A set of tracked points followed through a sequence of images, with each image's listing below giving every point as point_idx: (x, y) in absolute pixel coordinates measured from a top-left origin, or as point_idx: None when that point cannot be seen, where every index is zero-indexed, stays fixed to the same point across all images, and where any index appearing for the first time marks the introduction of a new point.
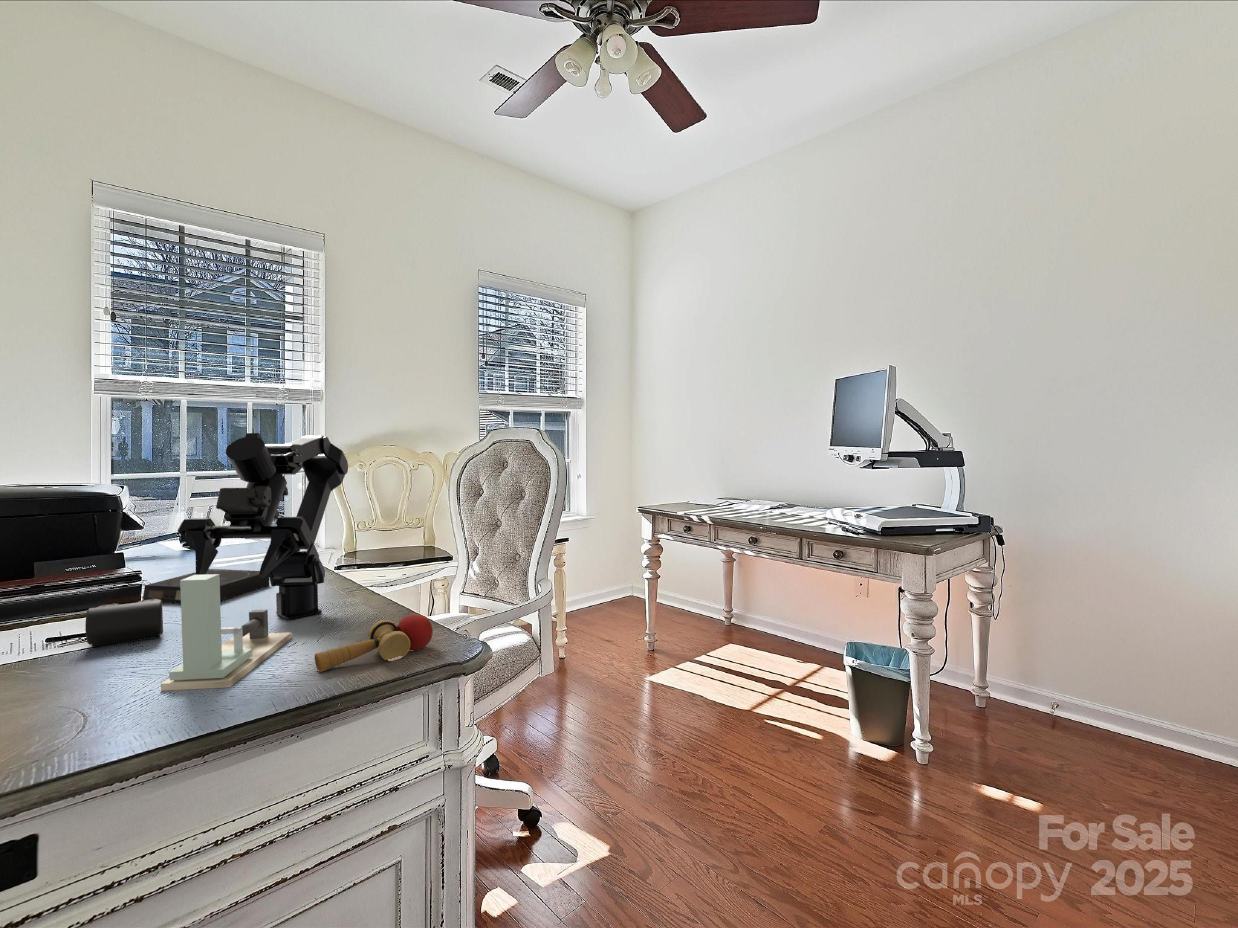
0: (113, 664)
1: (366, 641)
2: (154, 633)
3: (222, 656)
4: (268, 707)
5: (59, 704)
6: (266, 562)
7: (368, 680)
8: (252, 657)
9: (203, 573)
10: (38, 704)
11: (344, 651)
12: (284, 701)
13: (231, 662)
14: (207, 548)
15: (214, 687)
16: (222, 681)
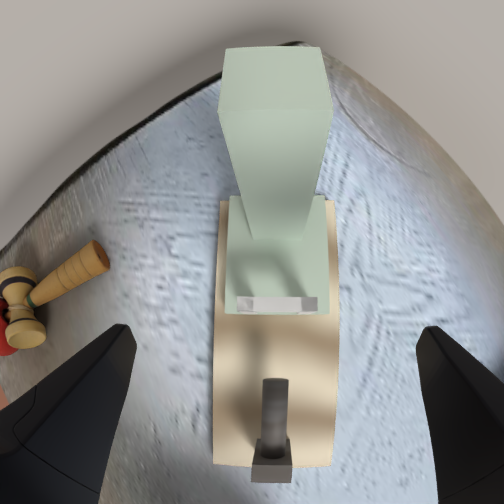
0: (475, 334)
1: (36, 290)
2: None
3: (266, 268)
4: (147, 143)
5: (434, 182)
6: (76, 358)
7: (53, 216)
8: (228, 316)
9: (424, 372)
10: (456, 187)
11: (62, 264)
12: (132, 157)
13: (230, 230)
14: (494, 479)
15: None
16: None
